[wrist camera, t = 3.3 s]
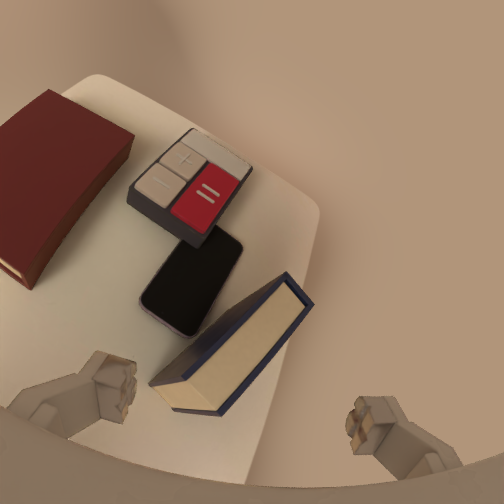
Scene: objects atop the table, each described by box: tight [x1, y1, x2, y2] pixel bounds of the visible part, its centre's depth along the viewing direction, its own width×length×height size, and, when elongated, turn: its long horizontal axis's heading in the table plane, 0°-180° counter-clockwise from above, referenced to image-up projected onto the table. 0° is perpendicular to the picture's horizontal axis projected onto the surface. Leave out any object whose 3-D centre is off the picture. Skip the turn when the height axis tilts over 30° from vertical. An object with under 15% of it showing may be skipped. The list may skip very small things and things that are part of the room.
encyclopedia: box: [0, 89, 135, 290], centre depth 28 cm, size 22×16×4 cm
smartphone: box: [139, 224, 243, 339], centre depth 36 cm, size 7×1×15 cm
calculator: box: [127, 128, 253, 249], centre depth 39 cm, size 11×4×15 cm
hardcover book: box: [148, 271, 315, 417], centre depth 28 cm, size 4×13×12 cm, turn 138°
